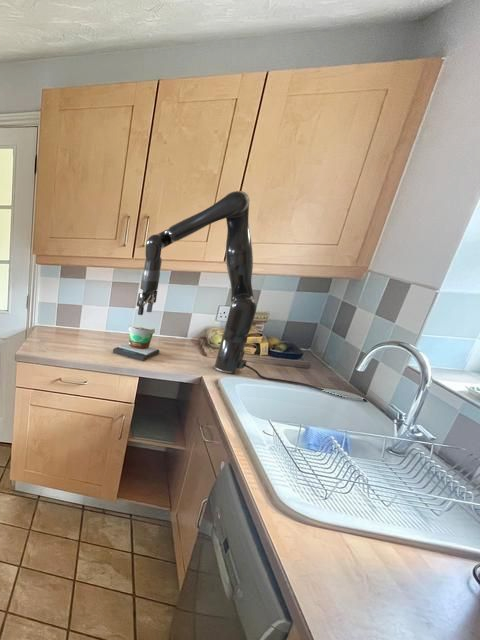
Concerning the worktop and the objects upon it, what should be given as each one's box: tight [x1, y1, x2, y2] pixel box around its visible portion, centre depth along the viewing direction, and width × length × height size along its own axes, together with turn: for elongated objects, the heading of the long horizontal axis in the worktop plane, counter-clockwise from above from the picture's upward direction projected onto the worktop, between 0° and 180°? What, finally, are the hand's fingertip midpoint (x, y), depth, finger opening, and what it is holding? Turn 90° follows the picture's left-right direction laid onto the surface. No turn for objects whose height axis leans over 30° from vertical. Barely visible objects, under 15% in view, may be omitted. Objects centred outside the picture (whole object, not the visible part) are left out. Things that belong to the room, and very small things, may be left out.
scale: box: [112, 341, 160, 362], centre depth 206 cm, size 16×16×3 cm
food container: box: [128, 325, 156, 349], centre depth 204 cm, size 12×6×10 cm, turn 62°
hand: (144, 313), depth 199 cm, fingers open, 8 cm apart
